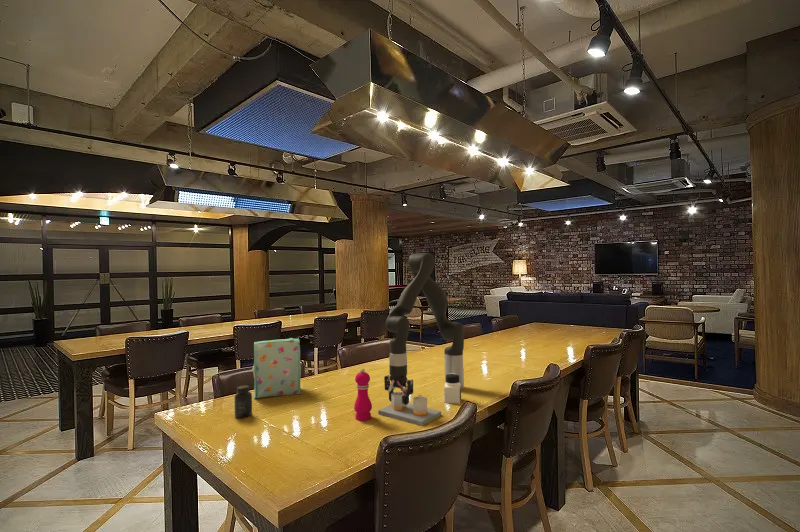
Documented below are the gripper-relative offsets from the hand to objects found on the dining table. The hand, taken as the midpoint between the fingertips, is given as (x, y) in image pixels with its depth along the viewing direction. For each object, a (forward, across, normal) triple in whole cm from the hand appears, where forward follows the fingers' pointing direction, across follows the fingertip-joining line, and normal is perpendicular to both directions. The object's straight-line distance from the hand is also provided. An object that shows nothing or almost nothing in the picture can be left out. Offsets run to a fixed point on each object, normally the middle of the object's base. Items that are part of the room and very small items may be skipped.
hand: (398, 402), depth 165 cm
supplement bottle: (+4, +50, +41) cm, 65 cm away
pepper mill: (+4, +8, +14) cm, 16 cm away
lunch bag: (+4, +66, +14) cm, 67 cm away
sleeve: (+2, 0, 0) cm, 2 cm away
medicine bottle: (+4, -12, -25) cm, 28 cm away
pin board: (+4, -6, 0) cm, 7 cm away
